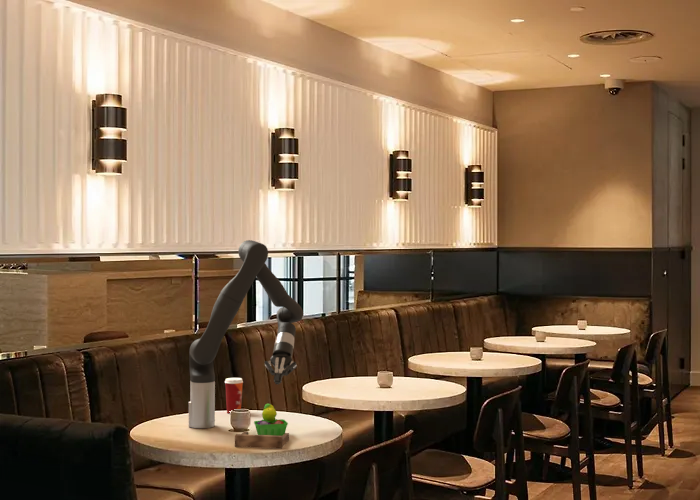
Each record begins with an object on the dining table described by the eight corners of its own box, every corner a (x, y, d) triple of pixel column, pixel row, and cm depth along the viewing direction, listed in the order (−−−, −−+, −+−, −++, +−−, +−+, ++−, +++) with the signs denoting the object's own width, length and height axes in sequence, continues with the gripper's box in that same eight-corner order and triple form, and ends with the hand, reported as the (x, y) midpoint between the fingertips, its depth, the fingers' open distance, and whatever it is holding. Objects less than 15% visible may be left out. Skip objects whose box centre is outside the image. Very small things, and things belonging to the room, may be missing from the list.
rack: (234, 446, 334) (234, 435, 334) (244, 438, 348) (244, 427, 348) (281, 448, 332) (281, 436, 332) (289, 440, 346) (289, 428, 345)
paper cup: (243, 414, 392) (243, 380, 392) (224, 414, 391) (224, 380, 391) (242, 410, 400) (242, 377, 400) (224, 411, 399) (224, 377, 398)
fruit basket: (257, 439, 347) (257, 407, 347) (252, 433, 356) (252, 403, 356) (288, 437, 350) (288, 406, 350) (283, 432, 359) (283, 402, 359)
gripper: (265, 340, 374) (258, 376, 362) (299, 341, 372) (293, 377, 360) (268, 352, 379) (261, 388, 367) (301, 353, 378) (295, 389, 366)
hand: (277, 383), depth 364 cm, fingers closed
